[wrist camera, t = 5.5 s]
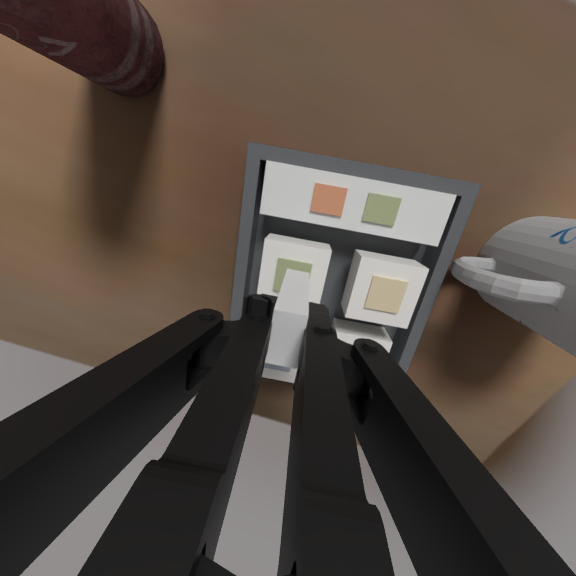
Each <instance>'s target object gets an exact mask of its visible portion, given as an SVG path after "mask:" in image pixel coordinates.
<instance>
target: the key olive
mask: <svg viewBox="0 0 576 576" xmlns="http://www.w3.org/2000/svg"><path fill="white" fill-rule="evenodd" d="M331 253H332V250H331V247H330V245H329V244H326V243H321V242H315V241H310V240H304V239H299V238H294V237H288V236H283V235H277V234H272V233H270V234H269V235H268V236H267V237H266V238H265V240H264V247H263V254H262V261H261V268H260V275H259V282H258V289H257V294H267V295H273V296H278V295H279V292H280V289H281V286H282V283H283V280H284V277H285V274H286V271H287V269H292V270H297V271H303V272H308V273H310V276H309V302H313V303H318V304H320V300H321V296H322V292H323V287H324V283H325V279H326V275H327V270H328V266H329V262H330V258H331Z"/></svg>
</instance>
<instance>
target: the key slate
mask: <svg viewBox="0 0 576 576" xmlns="http://www.w3.org/2000/svg"><path fill="white" fill-rule="evenodd" d="M297 368H298V366H297ZM296 372H297V369H294V368H289V367H284V366H279V365H274V364H269V363H265V365H264V370H263V374H262V377H264V378H269V379H275V380H280V381H285V382H290V383H294V381H295V377H296Z"/></svg>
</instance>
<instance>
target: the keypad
mask: <svg viewBox="0 0 576 576" xmlns="http://www.w3.org/2000/svg"><path fill="white" fill-rule="evenodd" d="M481 185H482V184H477V183H472V182H466V181H461V180H455V179H450V178H444V177H439V176H434V175H428V174H423V173H417V172H412V171H406V170H401V169H395V168H390V167H384V166H379V165H373V164H368V163H362V162H357V161H352V160H346V159H341V158H335V157H330V156H324V155H319V154H313V153H308V152H302V151H297V150H291V149H286V148H281V147H275V146H270V145H264V144H259V143H253V142H248V151H247V160H246V170H245V179H244V188H243V198H242V207H241V217H240V226H239V235H238V245H237V254H236V264H235V273H234V282H233V292H232V301H231V310H230V320H229V321H235V320H240V318H241V316H242V314H243V306H244V298H245V297H246V296H247V295H250V294H257V289H258V282H259V275H260V268H261V261H262V254H263V247H264V240H265V238H266V237H267V236H268V235H269V234H270V233H272V234H277V235H283V236H288V237H294V238H299V239H304V240H310V241H315V242H321V243H326V244H329V245H330V247H331V250H332V253H331V258H330V262H329V266H328V270H327V275H326V279H325V283H324V287H323V292H322V296H321V300H320V304H323V305H325V306H326V307H327V308H328V309H329V315H330V322H331V326H332V322H333V318H337V319H343V320H348V321H353V322H359V323H364V324H369V325H375V326H380V327H384V328H385V330H386V331H387V333H388V335H389V337H390V338H391V340H392V342H393V344H392V346H391V349H390V352H389V354H390V355H391V356H392V357H393V359H394V360H395V361H396V362H397V363H398V365H399V366H400V367H401V368H402V369H403V371H404V372H405V373H407V370H408V368H409V365H410V363H411V360H412V358H413V355H414V353H415V350H416V348H417V345H418V343H419V340H420V338H421V335H422V333H423V330H424V328H425V325H426V323H427V320H428V317H429V315H430V312H431V310H432V307H433V305H434V302H435V300H436V297H437V295H438V292H439V290H440V287H441V285H442V282H443V280H444V277H445V275H446V272H447V270H448V267H449V265H450V262H451V260H452V257H453V255H454V252H455V250H456V247H457V245H458V242H459V240H460V237H461V235H462V232H463V230H464V227H465V225H466V222H467V220H468V217H469V215H470V212H471V210H472V207H473V205H474V202H475V200H476V197H477V195H478V192H479V190H480V187H481ZM355 249H358V250H364V251H369V252H374V253H380V254H385V255H391V256H396V257H401V258H407V259H412V260H416V261H417V262H419V263H420V264H422V265H424V266H425V267H427V268H428V269H429V272H428V274H427V277H426V280H425V282H424V285H423V288H422V290H421V293H420V296H419V298H418V301H417V304H416V306H415V309H414V312H413V314H412V317H411V320H410V322H409V325H408V328H407V329H405V328H399V327H394V326H389V325H383V324H378V323H373V322H367V321H362V320H357V319H352V318H346V317H345V316H344V312H343V309H342V306H341V301H342V297H343V293H344V290H345V286H346V282H347V278H348V274H349V271H350V267H351V263H352V259H353V256H354V252H355Z"/></svg>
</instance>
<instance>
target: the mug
mask: <svg viewBox="0 0 576 576" xmlns="http://www.w3.org/2000/svg"><path fill="white" fill-rule="evenodd" d="M451 273H452V275H453V276H454V277H455V278H456V279H458V280H459V281H461V282H462V283H463V284H465V285H467V286H469V287H471V288H473V289H476V290H477V292H478V294H479V295H480V296H481V297H482V299H483V300H484V301H486V302H487V303H489V304H490V305H492V306H493V307H495V308H497V309H498V310H500V311H501V312H503V313H505V314H506V315H508V316H510V317H511V318H513V319H515V320H516V321H518V322H520V323H521V324H523V325H524V326H526V327H528V328H529V329H531V330H533V331H534V332H536V333H538V334H539V335H541V336H542V337H544V338H546V339H547V340H549V341H551V342H552V343H554V344H556V345H557V346H559V347H561V348H562V349H564V350H565V351H567V352H569V353H570V354H572V355H574V356H575V357H576V219H566V218H556V217H546V216H537V217H529V218H524V219H520V220H518V221H515V222H513V223H510V224H509V225H507V226H505V227H504V228H502V229H500V230H499V231H498V232H497V233H495V234H494V235H493V236H492V237H491V238H490V239H489V240H488V241H487V242H486V243H485V245H484V246H483V248H482V249H481V251H480V252H479V254H478V257H461V258H458V259H456V260H454V261H453V263H452V265H451Z"/></svg>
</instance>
